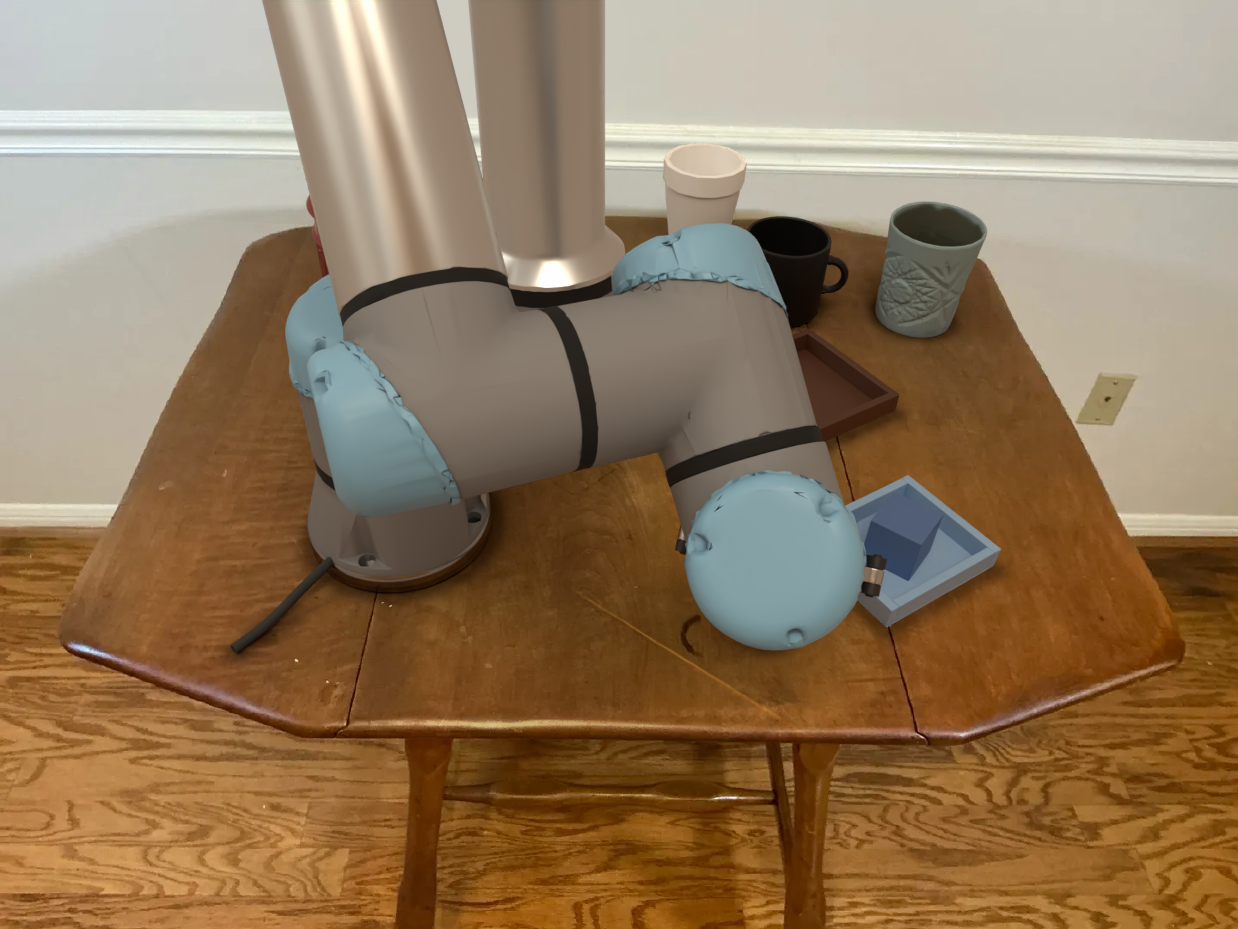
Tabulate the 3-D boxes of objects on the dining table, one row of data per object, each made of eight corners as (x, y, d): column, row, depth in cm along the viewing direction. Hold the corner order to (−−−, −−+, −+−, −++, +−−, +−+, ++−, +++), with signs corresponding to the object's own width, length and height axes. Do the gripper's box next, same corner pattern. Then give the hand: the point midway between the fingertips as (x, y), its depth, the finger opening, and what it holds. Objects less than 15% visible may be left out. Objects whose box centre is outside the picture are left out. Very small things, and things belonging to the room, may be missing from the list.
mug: (841, 335, 106) (857, 264, 100) (734, 324, 107) (743, 252, 101) (839, 291, 113) (854, 222, 107) (738, 281, 114) (747, 211, 108)
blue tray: (884, 632, 75) (891, 611, 73) (796, 547, 81) (801, 526, 79) (992, 570, 80) (1001, 549, 78) (901, 495, 86) (908, 474, 85)
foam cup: (651, 244, 120) (657, 144, 111) (722, 239, 121) (733, 141, 112) (667, 283, 113) (675, 180, 104) (742, 278, 114) (755, 175, 106)
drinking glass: (945, 296, 112) (974, 202, 104) (967, 345, 105) (999, 248, 97) (860, 293, 112) (882, 199, 104) (876, 341, 105) (901, 244, 97)
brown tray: (766, 471, 88) (770, 450, 87) (682, 394, 97) (683, 374, 95) (894, 414, 95) (900, 394, 94) (805, 347, 104) (808, 327, 102)
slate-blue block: (908, 581, 78) (921, 545, 75) (860, 557, 80) (870, 520, 77) (930, 551, 81) (943, 514, 78) (882, 527, 82) (894, 491, 80)
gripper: (623, 587, 55) (671, 572, 78) (912, 658, 52) (873, 620, 75) (651, 461, 55) (691, 483, 78) (940, 523, 52) (893, 527, 75)
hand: (780, 550), depth 76 cm, fingers closed on chocolate bunny, 3 cm apart
